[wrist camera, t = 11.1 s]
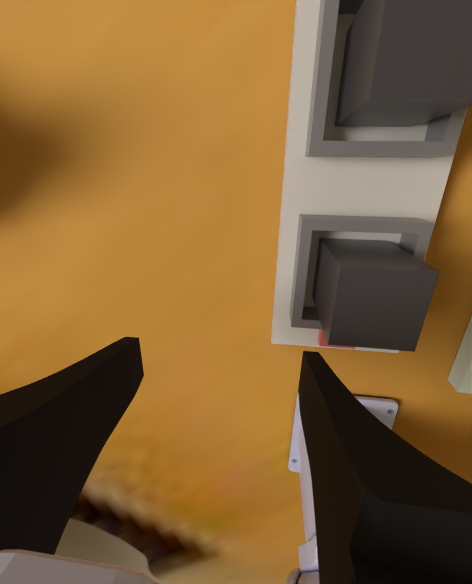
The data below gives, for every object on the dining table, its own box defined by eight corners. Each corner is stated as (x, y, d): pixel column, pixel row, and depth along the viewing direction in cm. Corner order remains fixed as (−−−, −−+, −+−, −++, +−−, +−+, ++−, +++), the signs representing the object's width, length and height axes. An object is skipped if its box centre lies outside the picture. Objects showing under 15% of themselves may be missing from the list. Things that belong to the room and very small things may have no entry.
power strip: (391, 344, 21) (445, 420, 15) (271, 335, 22) (271, 402, 16) (502, -71, 13) (750, -334, 6) (300, -57, 14) (326, -273, 7)
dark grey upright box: (411, 126, 15) (493, 98, 9) (334, 126, 15) (368, 99, 10) (433, 29, 13) (545, -71, 8) (346, 32, 14) (395, -62, 8)
